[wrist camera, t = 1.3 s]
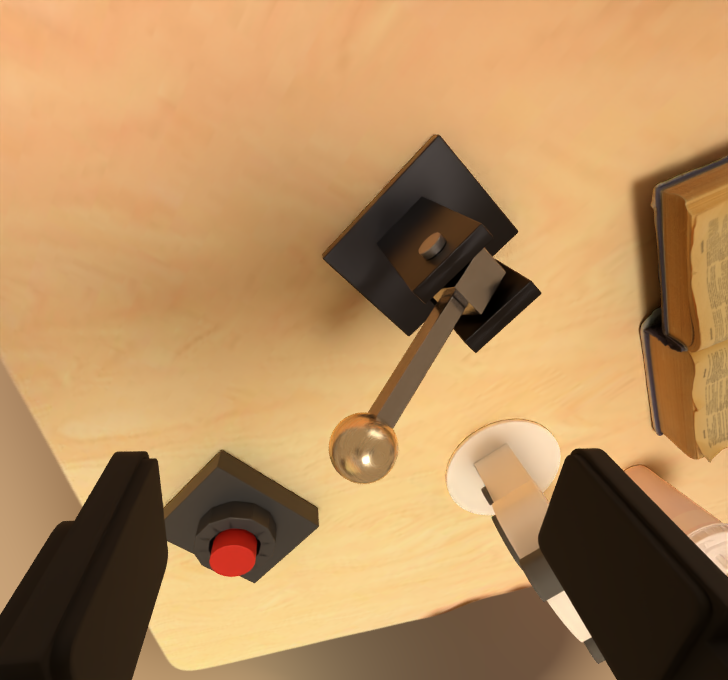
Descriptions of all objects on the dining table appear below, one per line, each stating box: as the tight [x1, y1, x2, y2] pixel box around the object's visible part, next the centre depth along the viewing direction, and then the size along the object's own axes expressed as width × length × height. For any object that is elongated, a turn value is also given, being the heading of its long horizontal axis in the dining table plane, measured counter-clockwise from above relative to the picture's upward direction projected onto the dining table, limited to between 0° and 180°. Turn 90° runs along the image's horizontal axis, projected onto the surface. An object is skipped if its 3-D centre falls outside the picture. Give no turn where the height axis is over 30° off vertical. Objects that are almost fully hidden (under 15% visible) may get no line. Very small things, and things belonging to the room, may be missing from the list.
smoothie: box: [624, 465, 728, 575], centre depth 39 cm, size 6×6×14 cm
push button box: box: [163, 450, 319, 583], centre depth 38 cm, size 11×9×4 cm
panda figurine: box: [446, 419, 605, 664], centre depth 35 cm, size 12×11×15 cm
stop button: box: [209, 528, 257, 577], centre depth 36 cm, size 4×4×2 cm
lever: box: [329, 248, 506, 484], centre depth 22 cm, size 13×3×3 cm, turn 136°
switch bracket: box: [322, 135, 541, 353], centre depth 27 cm, size 11×9×12 cm
